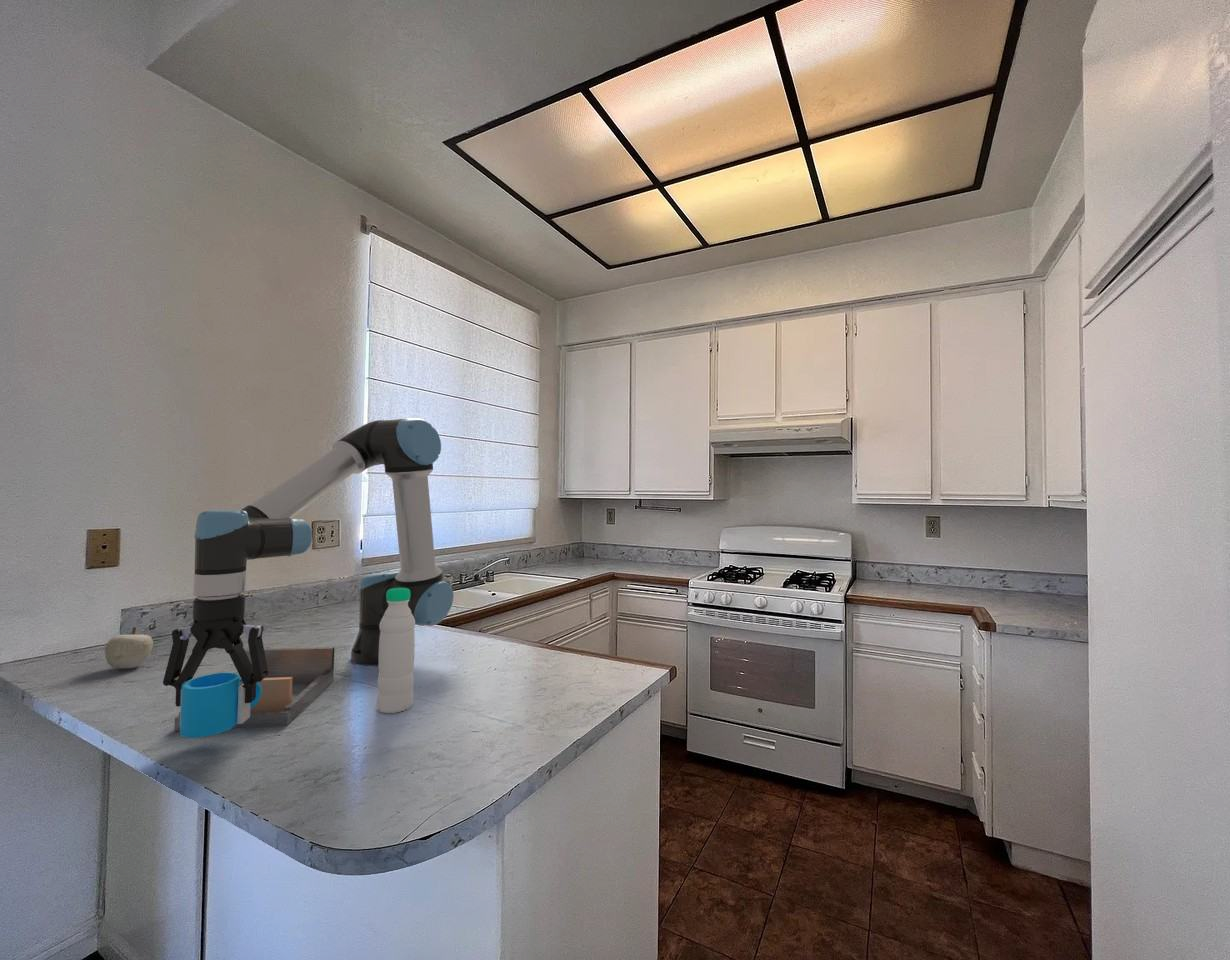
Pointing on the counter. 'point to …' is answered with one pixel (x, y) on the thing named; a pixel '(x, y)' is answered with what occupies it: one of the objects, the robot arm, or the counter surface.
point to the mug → (211, 704)
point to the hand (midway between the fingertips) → (215, 721)
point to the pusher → (274, 694)
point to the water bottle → (396, 654)
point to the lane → (303, 669)
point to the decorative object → (128, 650)
